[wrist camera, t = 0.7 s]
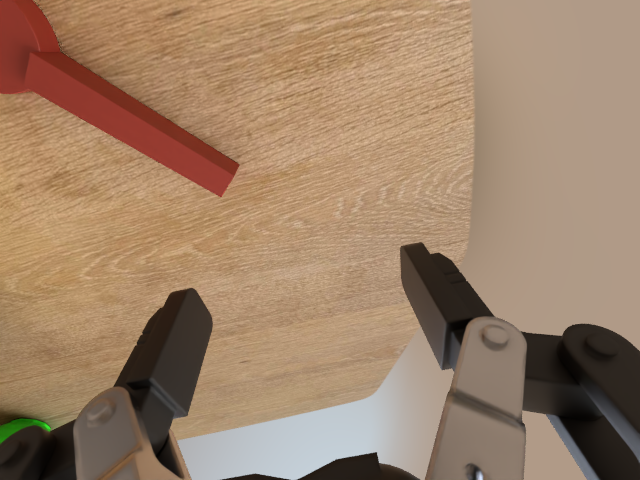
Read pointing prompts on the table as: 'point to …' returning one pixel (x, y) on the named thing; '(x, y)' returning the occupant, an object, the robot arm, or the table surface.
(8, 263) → the table surface
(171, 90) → the table surface
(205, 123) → the table surface
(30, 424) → the plastic bottle
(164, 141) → the red flat paddle piece
